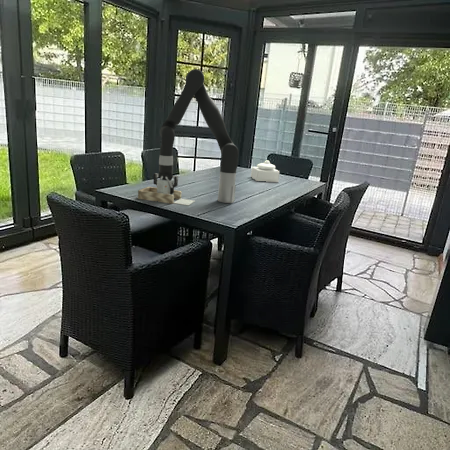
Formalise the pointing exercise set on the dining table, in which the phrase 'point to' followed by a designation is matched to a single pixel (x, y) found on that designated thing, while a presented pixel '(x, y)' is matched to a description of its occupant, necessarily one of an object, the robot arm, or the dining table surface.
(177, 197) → the beige piece
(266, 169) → the butter dish
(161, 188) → the small box
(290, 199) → the dining table surface
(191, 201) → the mat
